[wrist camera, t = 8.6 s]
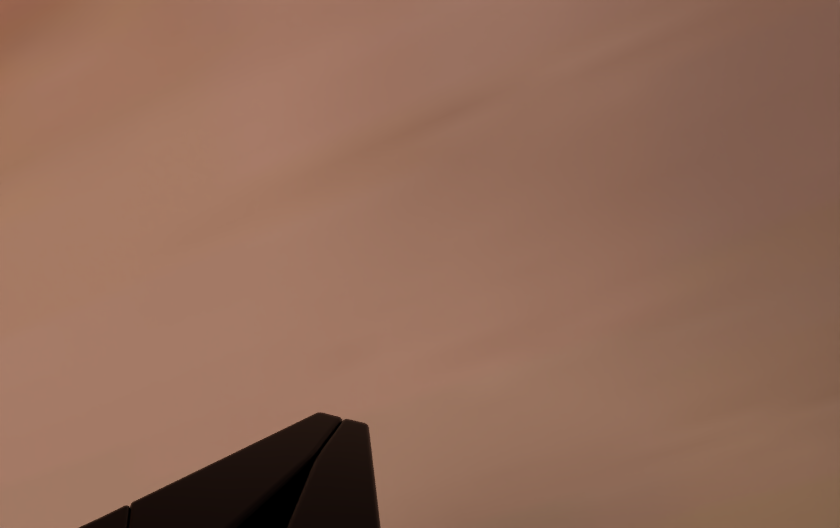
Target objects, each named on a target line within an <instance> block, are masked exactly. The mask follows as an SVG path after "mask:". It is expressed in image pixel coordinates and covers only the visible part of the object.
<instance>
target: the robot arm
mask: <svg viewBox="0 0 840 528" xmlns="http://www.w3.org/2000/svg"><path fill="white" fill-rule="evenodd" d="M79 528H380V519H379V511H378V502H377V494H376V485H375V477H374V468H373V460H372V451H371V443H370V434H369V427H368V425H367V424H365V423H362V422H358V421H353V420H349V419H345V420H343V421H342V419H341V418H340V417H337V416H333V415H329V414H325V413H321V412H320V413H316V414H314V415H312V416H310V417H308V418H305V419H303V420H301V421H299V422H297V423H295V424H293V425H291V426H289V427H287V428H285V429H283V430H281V431H279V432H277V433H274V434H272V435H270V436H268V437H266V438H264V439H262V440H260V441H258V442H256V443H254V444H252V445H250V446H248V447H246V448H244V449H241V450H239V451H237V452H235V453H233V454H231V455H229V456H227V457H225V458H223V459H221V460H219V461H217V462H215V463H213V464H211V465H208V466H206V467H204V468H202V469H200V470H198V471H196V472H194V473H192V474H190V475H188V476H186V477H184V478H182V479H180V480H177V481H175V482H173V483H171V484H169V485H167V486H165V487H163V488H161V489H159V490H157V491H155V492H153V493H151V494H149V495H147V496H144V497H142V498H140V499H138V500H136V501H134V502H132V503H131V506H130V507H129V506H123V507H121V508H119V509H117V510H115V511H113V512H111V513H109V514H107V515H105V516H103V517H101V518H99V519H96V520H94V521H92V522H90V523H88V524H86V525H83V526H81V527H79Z"/></svg>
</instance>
